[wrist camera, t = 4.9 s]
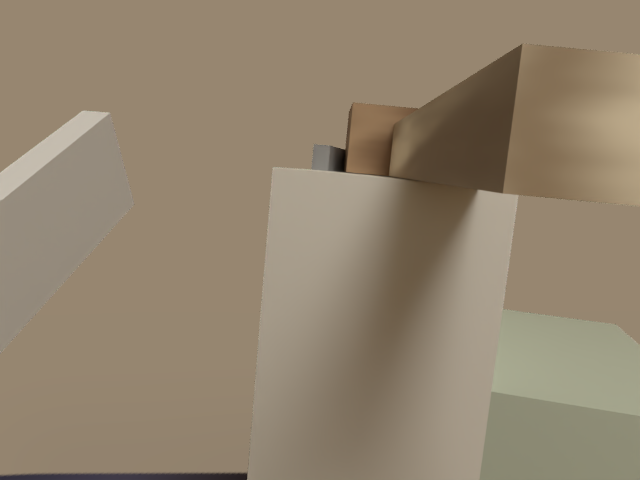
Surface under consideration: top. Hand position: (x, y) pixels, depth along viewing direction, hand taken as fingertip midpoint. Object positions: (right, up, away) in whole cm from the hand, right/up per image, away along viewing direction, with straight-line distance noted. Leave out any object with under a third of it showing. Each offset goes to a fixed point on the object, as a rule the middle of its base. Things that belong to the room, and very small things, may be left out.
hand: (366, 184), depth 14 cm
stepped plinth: (+6, -27, +23) cm, 36 cm away
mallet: (+4, +1, +12) cm, 13 cm away
